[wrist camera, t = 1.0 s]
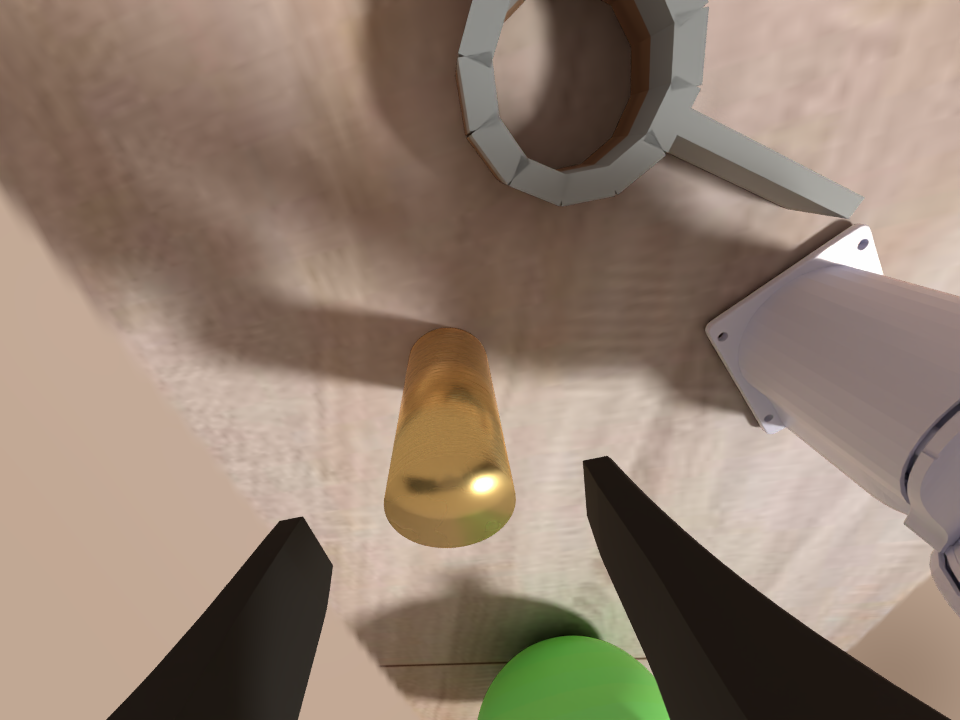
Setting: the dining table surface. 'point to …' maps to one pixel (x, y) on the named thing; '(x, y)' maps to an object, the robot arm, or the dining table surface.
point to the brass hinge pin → (449, 447)
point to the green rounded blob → (573, 684)
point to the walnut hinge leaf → (640, 72)
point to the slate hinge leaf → (639, 122)
